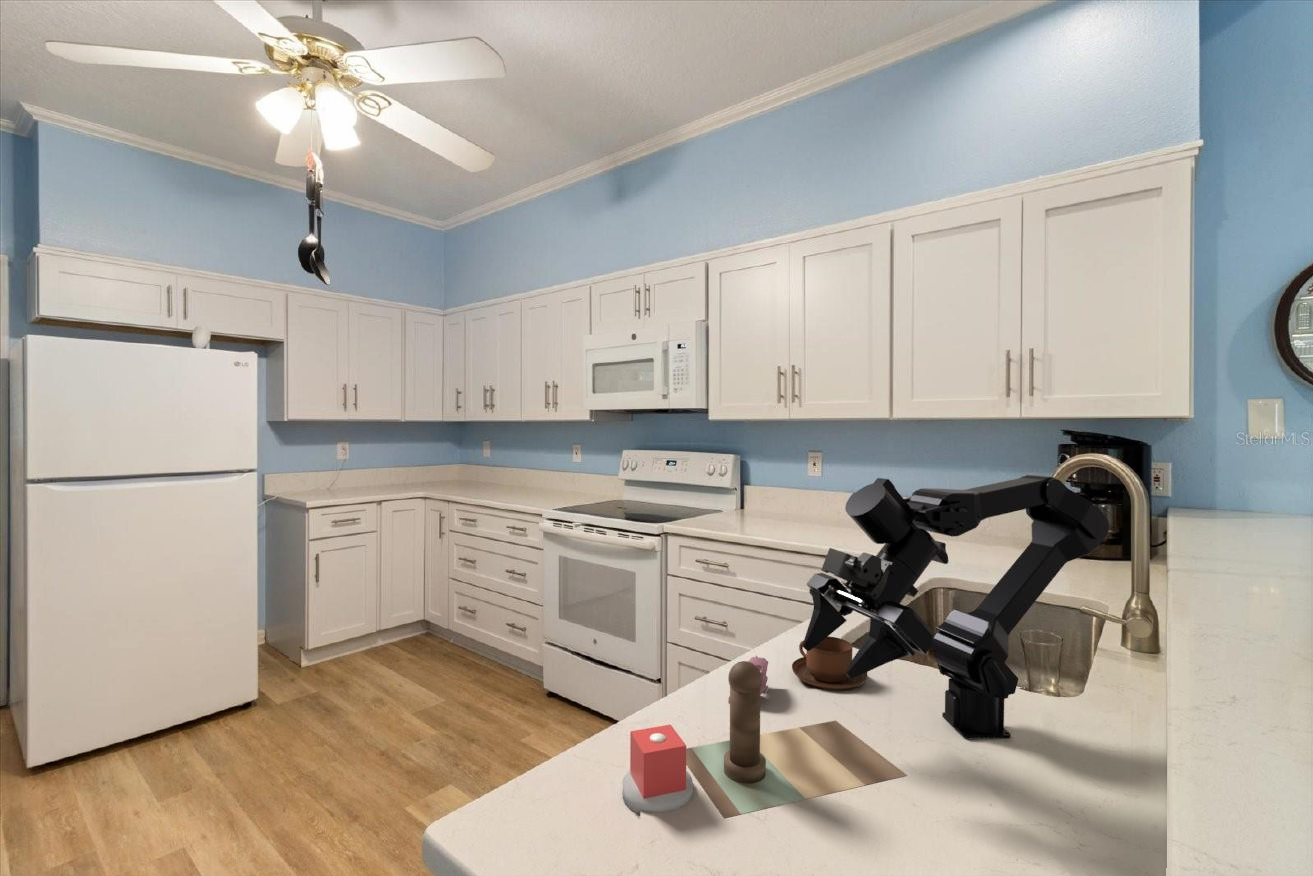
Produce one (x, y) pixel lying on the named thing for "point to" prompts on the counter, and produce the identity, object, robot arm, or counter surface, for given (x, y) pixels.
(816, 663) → the cup and saucer
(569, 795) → the counter surface
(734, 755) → the pawn
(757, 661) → the video game controller
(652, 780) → the die stand
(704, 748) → the game track
